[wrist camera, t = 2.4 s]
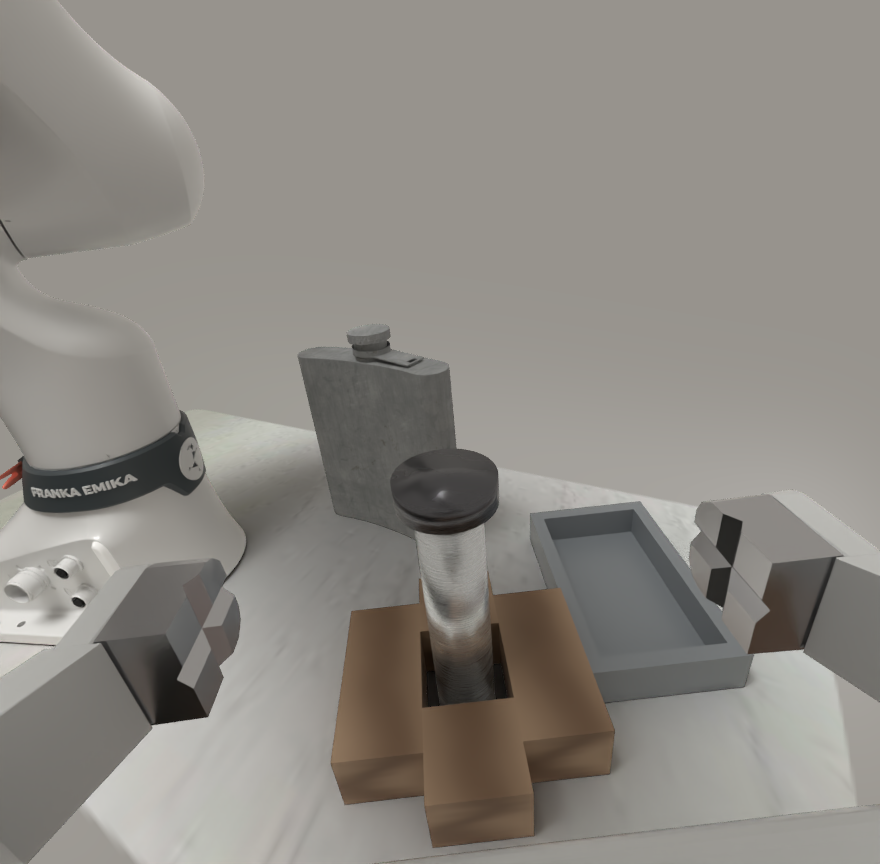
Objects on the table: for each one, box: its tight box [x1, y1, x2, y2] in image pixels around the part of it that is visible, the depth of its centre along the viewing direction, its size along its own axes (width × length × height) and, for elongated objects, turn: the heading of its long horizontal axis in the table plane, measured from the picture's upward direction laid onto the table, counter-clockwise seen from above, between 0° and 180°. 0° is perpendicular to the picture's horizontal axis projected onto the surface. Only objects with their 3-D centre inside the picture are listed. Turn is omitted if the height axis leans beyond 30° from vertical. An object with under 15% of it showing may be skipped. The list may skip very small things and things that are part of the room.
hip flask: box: [298, 324, 456, 539], centre depth 44 cm, size 16×4×20 cm, turn 57°
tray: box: [530, 501, 754, 703], centre depth 37 cm, size 10×16×3 cm, turn 3°
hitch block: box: [331, 571, 615, 848], centre depth 30 cm, size 15×15×4 cm
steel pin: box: [390, 449, 499, 706], centre depth 27 cm, size 5×5×18 cm
